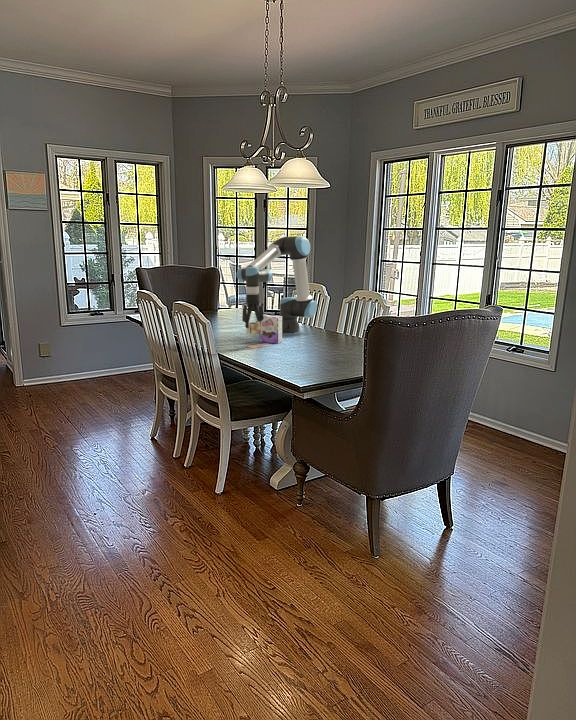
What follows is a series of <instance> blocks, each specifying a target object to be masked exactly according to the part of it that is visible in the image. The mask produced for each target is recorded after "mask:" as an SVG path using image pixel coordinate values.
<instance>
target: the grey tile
mask: <svg viewBox="0 0 576 720" xmlns="http://www.w3.org/2000/svg"><path fill="white" fill-rule="evenodd" d="M256 345H258V346H262V347H261V348H266V347H272V346H273V343H267V342H262V343H257V344H256Z"/></svg>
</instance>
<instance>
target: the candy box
mask: <svg viewBox="0 0 576 720" xmlns="http://www.w3.org/2000/svg"><path fill="white" fill-rule="evenodd" d="M263 317H264V319H263V320H262V321H261V326H260V334H258V342H260V343H268V344H277V345H278V344H281V343H283V332H282V316H280V315H268V314H263Z"/></svg>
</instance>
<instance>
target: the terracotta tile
mask: <svg viewBox="0 0 576 720" xmlns="http://www.w3.org/2000/svg"><path fill="white" fill-rule="evenodd" d="M245 347H246V348H249V349H252V350H254V349H259V348H263V347H262V346H258V345H257V344H251V345H245Z"/></svg>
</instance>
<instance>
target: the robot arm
mask: <svg viewBox="0 0 576 720" xmlns="http://www.w3.org/2000/svg"><path fill="white" fill-rule="evenodd" d="M310 253H311V244H310V241H309V239H308V238H306V237H305V236H300V235H299V236H282V237H280V238H278V239H277V240H275V241H273V242H272V243H271V244H269V245H268V247H267V249H266V250H265V251H263V253H261V254H260V255H259V256H258V257H256V258H255V259H254V260H253V261H251V262H250V263H249V264H248V265H247V266H246V267H244V268H243V267H241V268H238V269H237V270H236V271H237V272H236V278H237V280H238V281H240V282H241V281H242V282H245V293H246V294H245V301H246V303H245V304H242V305H241V307H242V316H241V317H242V323H245V324H244V325H245V328H247V333H246V334H248V335H251V334H250V323H251V322H250V319H251V316H252V312H254V313H255V317H256V321H255V322H256V323H260V326H261V321H262V320H263V319H264V317H263V315H264V303H263V302H260V284H261V283H267V282H270V281H271V280H272V279H273V272H272V270H270V268H269V269H267V268H266V267H267V266H268V265H269V264H270V263H272V262H273V261H274V260H275V259H277V258H280V257H281V256H285V255H286V256H289V260H291V261H292V267H293V275H294V282H295V290H296V296H288V297H282V298H280V299H279V316H282V333H289V334H290V333H297V332H300V325H299V322H298V317H299V318H306V319H309V318H313V317H314V316H315V315H316V314H317V313H316V312H317V309H318V304H317V301H316V300H314V298H313V295H311V294H310V293H311V292H310V285H309V284H310V283H309V276H308V267H307V261H306V260H307V259H308V256H309V255H310Z"/></svg>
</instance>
